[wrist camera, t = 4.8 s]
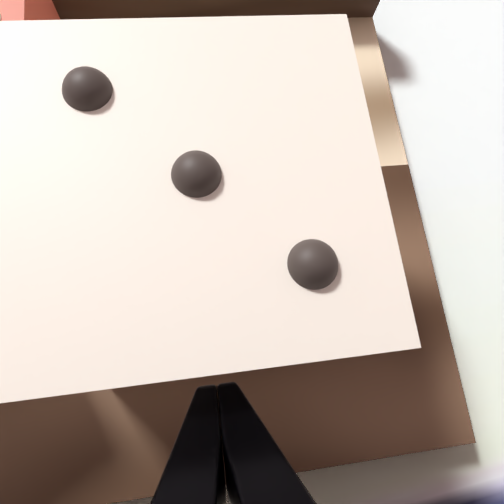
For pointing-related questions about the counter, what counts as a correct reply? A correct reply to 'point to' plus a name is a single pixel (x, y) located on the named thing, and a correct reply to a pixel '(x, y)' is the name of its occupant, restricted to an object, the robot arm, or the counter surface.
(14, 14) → the terracotta die
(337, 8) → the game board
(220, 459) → the robot arm
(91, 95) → the ivory die
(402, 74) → the counter surface
